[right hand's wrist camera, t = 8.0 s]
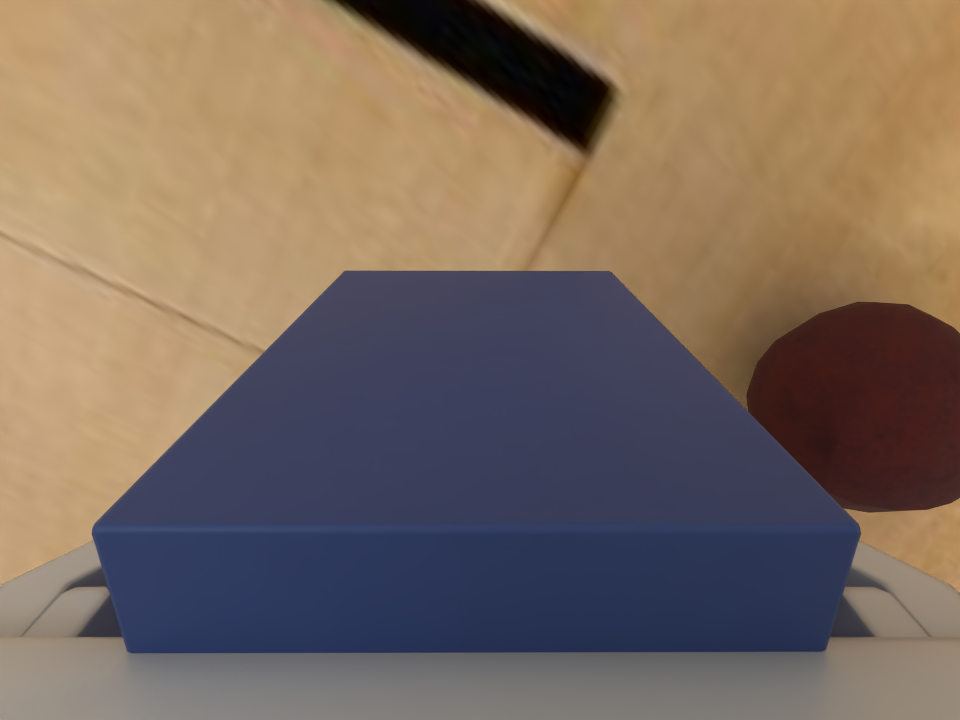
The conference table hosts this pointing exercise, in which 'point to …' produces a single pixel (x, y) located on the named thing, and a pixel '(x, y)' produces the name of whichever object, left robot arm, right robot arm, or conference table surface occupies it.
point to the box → (476, 489)
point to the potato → (867, 405)
